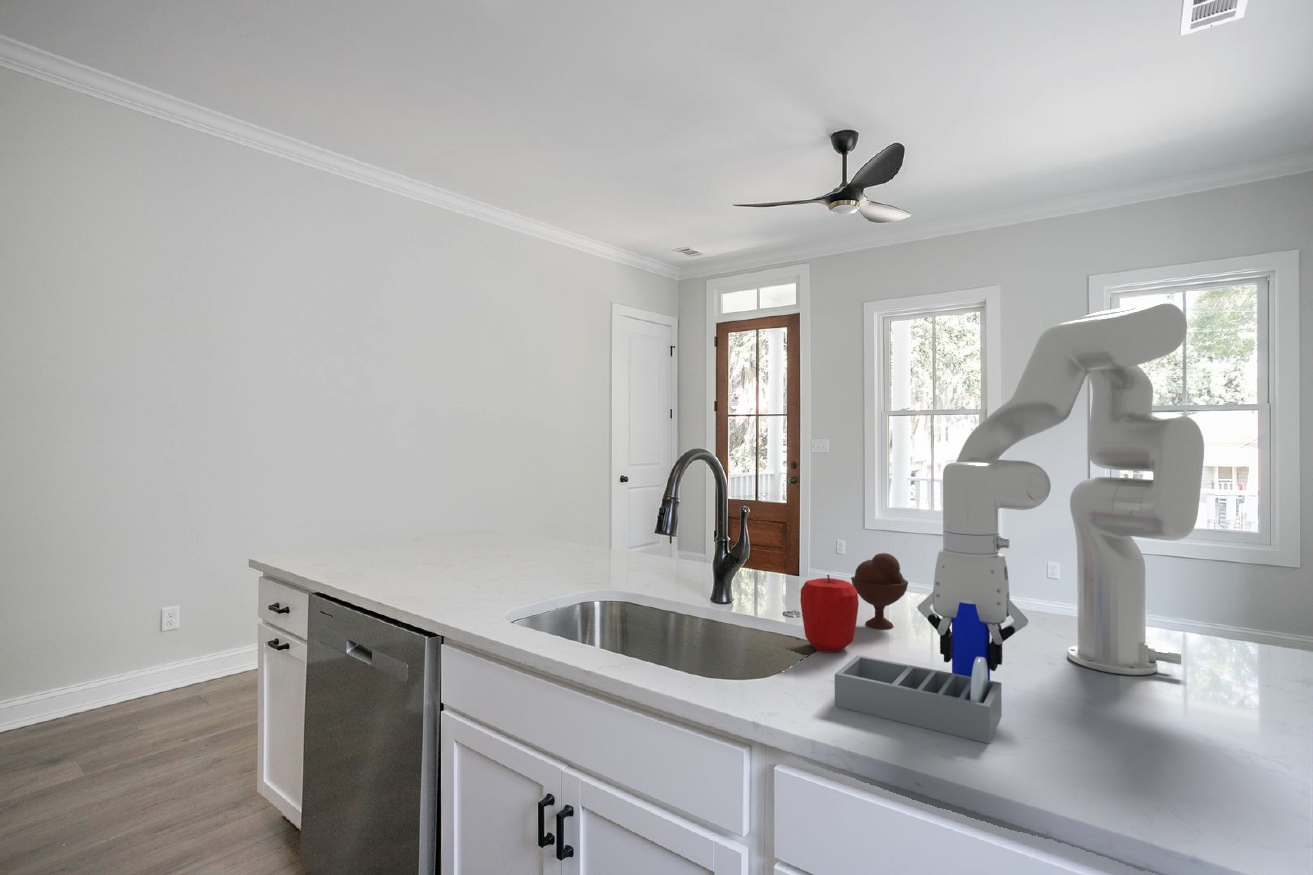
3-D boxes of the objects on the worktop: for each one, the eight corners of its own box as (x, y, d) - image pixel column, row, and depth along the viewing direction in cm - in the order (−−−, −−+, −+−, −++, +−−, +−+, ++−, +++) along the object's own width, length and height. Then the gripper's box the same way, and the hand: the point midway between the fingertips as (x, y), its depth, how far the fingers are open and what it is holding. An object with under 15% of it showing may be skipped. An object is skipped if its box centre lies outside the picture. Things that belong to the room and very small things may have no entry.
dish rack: (1001, 715, 90) (1001, 682, 90) (989, 743, 82) (989, 706, 82) (857, 684, 101) (857, 654, 101) (834, 705, 93) (834, 673, 93)
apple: (857, 660, 112) (856, 582, 112) (797, 654, 116) (796, 578, 116) (860, 642, 122) (860, 570, 122) (805, 637, 126) (804, 567, 126)
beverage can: (987, 688, 99) (986, 590, 100) (992, 701, 95) (992, 598, 95) (950, 684, 101) (950, 588, 101) (953, 697, 96) (953, 595, 96)
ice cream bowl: (898, 618, 138) (898, 548, 139) (914, 634, 127) (913, 557, 127) (847, 617, 140) (847, 547, 140) (858, 632, 128) (858, 557, 128)
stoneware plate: (987, 708, 90) (987, 650, 90) (977, 729, 83) (977, 667, 83) (981, 707, 90) (981, 649, 90) (970, 727, 84) (970, 665, 84)
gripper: (1038, 546, 96) (1039, 668, 96) (916, 536, 106) (917, 647, 106) (1032, 553, 90) (1033, 684, 90) (904, 542, 100) (904, 659, 100)
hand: (970, 662), depth 98 cm, fingers open, 5 cm apart
